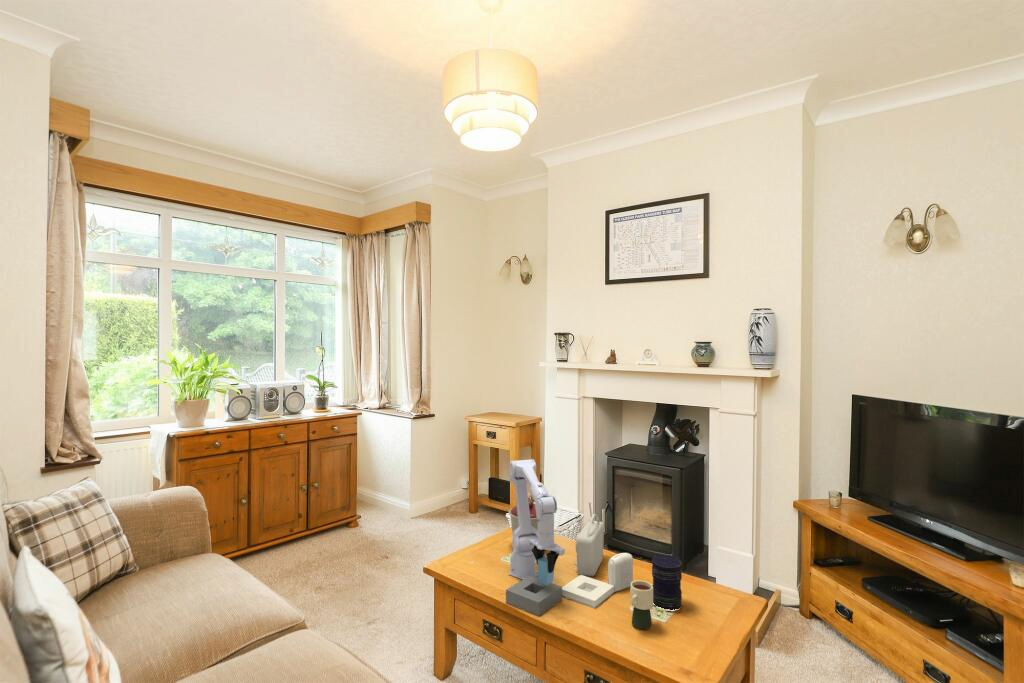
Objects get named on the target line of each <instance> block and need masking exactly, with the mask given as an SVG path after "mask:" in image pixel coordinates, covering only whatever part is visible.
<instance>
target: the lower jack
mask: <svg viewBox="0 0 1024 683" xmlns="http://www.w3.org/2000/svg"><path fill="white" fill-rule="evenodd" d="M561 587H562V598H565V599H566V598H567V599H568V600H571V601H573V602H576V603H579V604H582V605H585V606H587V607H590V608H593V609H596V608H597V607H598V606H600V605H601V604H603V603H604V602H605V600H607V599H608V598H609V597H611V596H612V595H613V594H614V593H615V592H614V586H613V585H610V584H608V582H604V581H601V580H598V579H594V578H592V577H590V576H586V575H580V574H579V575H578V576H577V577H575V578H574V579H572V580H571V581H570V582H568V583H566V584H565V585H563V586H561Z"/></svg>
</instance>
